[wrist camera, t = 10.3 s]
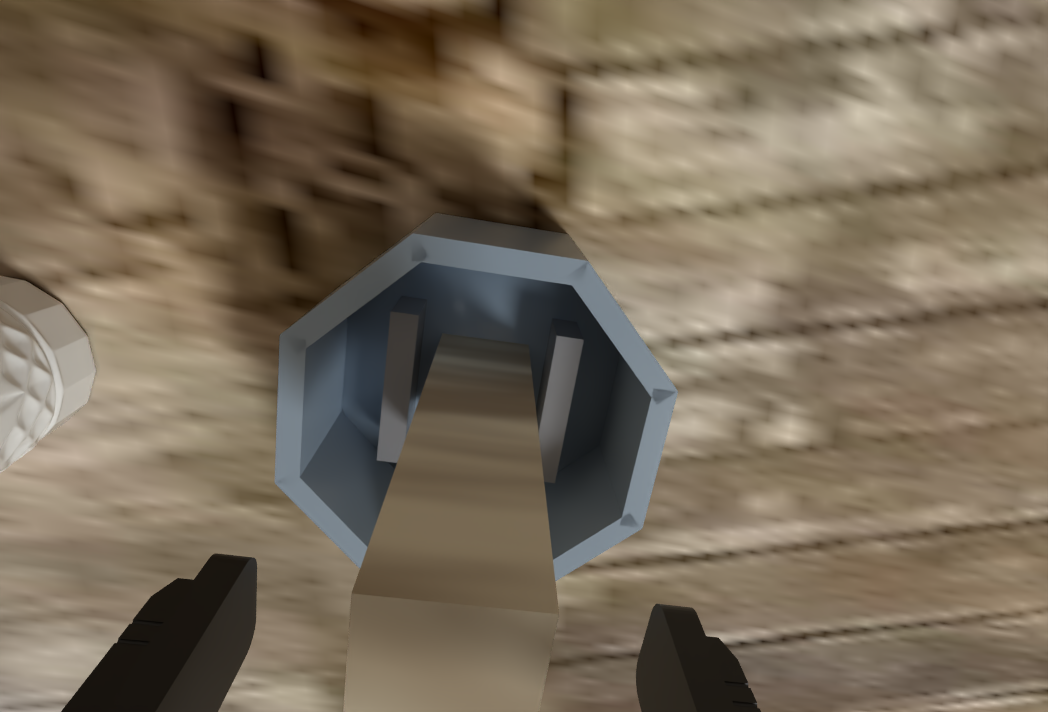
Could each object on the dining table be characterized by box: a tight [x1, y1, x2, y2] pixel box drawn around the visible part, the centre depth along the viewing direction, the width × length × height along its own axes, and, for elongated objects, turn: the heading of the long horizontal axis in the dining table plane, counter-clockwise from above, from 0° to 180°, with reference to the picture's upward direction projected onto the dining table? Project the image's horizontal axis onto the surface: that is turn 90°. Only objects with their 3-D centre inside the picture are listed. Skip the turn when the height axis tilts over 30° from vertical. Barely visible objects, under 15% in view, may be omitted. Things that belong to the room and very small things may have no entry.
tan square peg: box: [343, 333, 559, 712], centre depth 18 cm, size 4×4×15 cm
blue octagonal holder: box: [275, 213, 678, 581], centre depth 23 cm, size 13×13×6 cm
